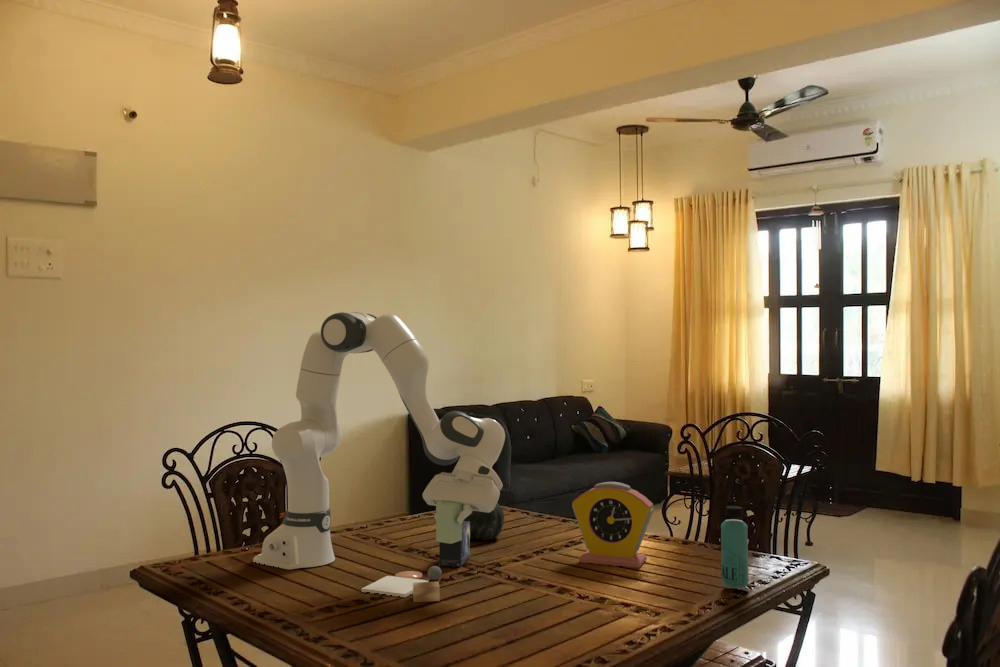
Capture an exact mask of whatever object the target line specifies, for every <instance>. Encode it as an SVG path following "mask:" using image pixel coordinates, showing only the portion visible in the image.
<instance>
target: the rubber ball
mask: <svg viewBox="0 0 1000 667" xmlns="http://www.w3.org/2000/svg"><path fill="white" fill-rule="evenodd" d="M442 571H443V570H442V569H441V568H440V566H437V565H433V566H431V567H430V568H428V570H427V577H428V579H429V581H431V582H438V581H439V580H440V579H441V577H443V576H442V575H443V572H442Z"/></svg>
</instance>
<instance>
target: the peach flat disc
mask: <svg viewBox="0 0 1000 667" xmlns="http://www.w3.org/2000/svg"><path fill="white" fill-rule="evenodd" d="M394 577H403V578H411V579H419V578H420V579H421V578H423V573H422V572H421V571H416V570H415V571H414V570H407V571H400V572H397V573H395V574H394Z"/></svg>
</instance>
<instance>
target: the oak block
mask: <svg viewBox="0 0 1000 667" xmlns="http://www.w3.org/2000/svg"><path fill="white" fill-rule="evenodd" d="M439 582H440V581H429V582H419V583H413V593H412V600H413V603H424V602H440V598H441V596H440V595H441V594H440V593H441V592H440V591H441V590H440V588H441V586H440V583H439Z"/></svg>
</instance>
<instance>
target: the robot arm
mask: <svg viewBox="0 0 1000 667" xmlns="http://www.w3.org/2000/svg"><path fill="white" fill-rule="evenodd" d="M320 327H321V328H320V330H319V331H315V332H313V333H312V334H311V335H310V336H309V338H308V341H307V343H306V345H305V349H304V352H303V355H302V359H301V362H300V368H299V374H298V380H297V385H296V391H295V397H296V399H297V401H298V402H299V404H300V405H299V406H300V413H301V418H300V420H298V421H290V422H289V423H287V424H285V425H282V427H280V428H278V429H276V431H275V432H274V433H273V436H272V439H271V449H272V452H273V453H274V455H275V457H276V458H277V459H279V460H280V463H281V464H282V467H283V470H284V474H285V477H286V483H287V484H286V485H287V510H285V511H284V512H282V513H279V515H281V516H279V518H283V519H282V524H280V525H279V526H278V527H276V529H274V530H273V531H272V532H270V533H269V534H268V535H267V536H266V537H264V540H263V543H262V548H261V553H259V554H257V555H255V556H254V557H253V559H252V562H253V563H255V562H256V564H259V563H260V564H259V565H264V564H265V566H269V567H270V566H271V567H273V566H274V567H275V568H278V567H279V569H284V570H294V569H295V570H296V569H301V568H302V569H303V568H315V567H319V566H325V565H328V564H331V563H333V562H335V560H336V557H335V556H336V555H335V553H334V550H333V544H332V539H331V538H332V537H331V530H330V529H331V525H332V523H331V522H332V521H331V520H332V518H331V516H332V515H331V512H332V511H331V508H330V482H329V479H328V478H327V476H326V475H325V474H324V472H323V470H322V465H321V461H320V458H321V457H325V456H329V454H331V453H333V452H334V451H335V450H337V449H338V448H339V447H340V445H341V443H342V441H343V431H342V428H341V426H340V424H339V422H338V416H337V415H338V414H337V397H338V392H339V385H340V379H341V375H342V368H343V363H344V360H345V358H346V356H348V355H349V354H360V353H361V354H362V353H369V352H372V351H374V352H375V354H377V356H378V357H379V359H380V360H381V362H382V364H383V366H385V369H386V370H387V371H388V373H389V376H390V377H391V379H392V380H393V383H394V385H395V388H396V390H397V392H398V394H399V396H400V398H401V401H402V402H403V405H404V407H405V410H407V413H408V414H409V417H410V418H411V420H412V422H413V423H414V426H415V427H416V429H417V431H418V433H419V435H420V438H421V441H422V448H423V451H424V454H425V456H426V457H427V458H428V460H429V461H431V462H432V463H434V464H436V465H439V466H449V465H452V464H455V463H456V462H457V463H456V464H455V466H454V468H453V470H452V472H445V471H442V472H440V473H438V474H435V475H434V476H433V478H432V479H431V480H430V482H428V484H427V485H426V487H425V489H424V491H423V492H422V499H423V500H424V502H426V504H427V505H428V506H435V507H436V504H439V503H443V502H454V503H462V509H464V510H463V511H462V512H461V513H460V514H456V516H455V518H454V521H455V523H457V524H462V522H463V520H464V519H465V518H466V517H468V516H469V515H470V514H471V513H472V511H480V512H487V513H489V512H491V511H492V510H494V508H495V506H496V504H497V503H498V501H499V498H500V497H501V496H500V495H501V492H500V491H501V490H502V489H503V486H504V485H503V482H502V481H501V478H500V476H499V475H498V474H497V472H496V471H495V470H494V469H493V466H494V464H495V463H497V461H498V459H499V456H500V455H501V453H502V450H503V447H504V445H505V440H506V431H505V429H504V427H503V426H502V425H501V424H500V423H499V422H498V421H496V420H495V419H492V418H490V417H484V418H477V417H473V416H470V415H468V414H466V413H465V412H462V411H458V410H451V411H449V412H446V413H445V414H444V415H443V416H442V417H441V419H439V417H438V415H437V414H436V411H435V410H434V408H433V406H432V404H431V402H430V401H429V398H428V395H427V377H428V372H429V365H430V363H429V359H428V356H427V354H426V350H425V348H424V347H423V346H422V344H421V343H420V341H419V339H417V337H416V336H415V334H414V333H413V331H412V330H411V329H410V327H408V325H407V324H406V323H405V322H404V321H403V320H402V319H401V318H400V317H399V316H398V315H396V314H394V313H385V314H381V315H379V316H375V315H373V314H370V313H363V312H359V311H357V312H356V311H352V312H342V311H341V312H336V313H333V314H331V315H329V316H328V317H326V318H325V319H324V321H323V323H322V325H321V326H320ZM434 519H435V520H436V513H435V515H434Z"/></svg>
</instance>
